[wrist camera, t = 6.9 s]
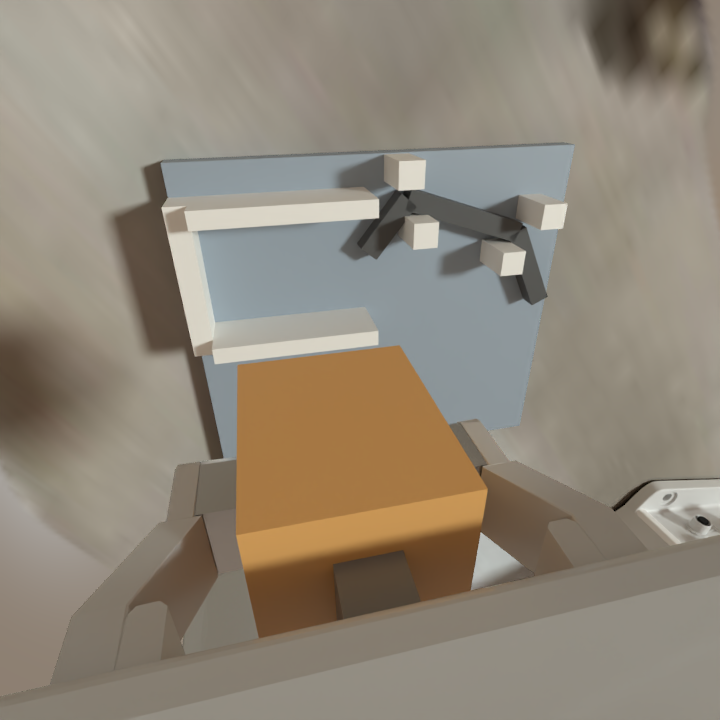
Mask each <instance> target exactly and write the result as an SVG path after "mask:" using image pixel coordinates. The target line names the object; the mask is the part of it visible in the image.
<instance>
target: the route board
mask: <svg viewBox="0 0 720 720" xmlns="http://www.w3.org/2000/svg"><path fill="white" fill-rule="evenodd" d="M574 147H575V145H574V144H568V143H544V144H521V145H498V146H475V147H452V148H429V149H406V150H383V151H360V152H337V153H314V154H291V155H268V156H245V157H222V158H199V159H176V160H163V161H162V162H161V163H160V164H161V168H162V173H163V177H164V182H165V187H166V191H167V196H168V198H167V200H166V201H165V203H164V204H163V206H162V207H161V208H162V212H163V217H164V221H165V226H166V230H167V235H168V239H169V244H170V248H171V253H172V257H173V262H174V266H175V271H176V275H177V279H178V284H179V288H180V293H181V297H182V302H183V306H184V311H185V315H186V320H187V324H188V329H189V333H190V338H191V342H192V347H193V351H194V355H195V357H196V356H202V359H203V364H204V368H205V373H206V378H207V382H208V387H209V392H210V396H211V401H212V406H213V410H214V415H215V420H216V424H217V429H218V434H219V438H220V443H221V448H222V452H223V457H224V458H230V457H237V365H240V364H249V363H257V362H265V361H273V360H282V359H290V358H298V357H306V356H315V355H323V354H331V353H340V352H348V351H356V350H364V349H373V348H381V347H389V346H397V345H400V347H401V348H402V350H403V351H404V353H405V355H406V356H407V358H408V360H409V361H410V363H411V364H412V366H413V368H414V369H415V371H416V373H417V374H418V376H419V378H420V379H421V381H422V382H423V384H424V386H425V387H426V389H427V391H428V392H429V394H430V395H431V397H432V399H433V400H434V402H435V404H436V405H437V407H438V408H439V410H440V412H441V413H442V415H443V417H444V418H445V420H446V421H447V423H448V424H450V423H457V422H460V421H465V420H471V419H478V420H480V421H481V423H482V424H483V425H484V427H485V428H486V429H487V431H488V430H494V429H500V428H507V427H513V426H519V425H520V420H521V415H522V410H523V405H524V400H525V395H526V390H527V384H528V379H529V374H530V369H531V364H532V359H533V354H534V349H535V344H536V339H537V334H538V329H539V324H540V319H541V314H542V309H543V303H544V298H546V297H548V296H547V293H546V288H547V283H548V278H549V273H550V268H551V263H552V258H553V253H554V248H555V243H556V238H557V233H558V229H563V225H564V220H565V215H566V210H567V205H568V203H565V202H564V197H565V192H566V187H567V182H568V177H569V172H570V167H571V162H572V157H573V152H574Z"/></svg>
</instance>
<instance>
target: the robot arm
mask: <svg viewBox="0 0 720 720" xmlns="http://www.w3.org/2000/svg"><path fill="white" fill-rule="evenodd" d="M448 425H449V426H450V428H451V430H452V431H453V433H454V434H455V436H456V438H457V439H458V441H459V443H460V444H461V446H462V448H463V449H464V451H465V452H466V454H467V456H468V457H469V459H470V461H471V462H472V464H473V465H474V467H475V469H476V470H477V472H478V474H479V475H480V477H481V478H482V480H483V482H484V483H485V485H486V487H487V488H488V492H487V497H486V503H485V509H484V515H483V521H482V526H481V532H482V533H483V534H484V535H485V536H487V537H488V538H489V539H491V540H492V541H493V542H494V543H496V544H497V545H498V546H500V547H501V548H502V549H503V550H505V551H506V552H507V553H509V554H510V555H511V556H512V557H514V558H515V559H516V560H517V561H519V562H520V563H521V564H523V565H524V566H525V567H526V568H528V569H529V570H530V571H532V572H533V573H534V576H533V577H529V578H525V579H520V580H516V581H511V582H507V583H502V584H498V585H493V586H489V587H484V588H480V589H476V590H471V591H467V592H462V593H458V594H453V595H449V596H444V597H440V598H436V599H431V600H427V601H422V602H418V603H413V604H409V605H404V606H400V607H396V608H391V609H387V610H382V611H378V612H373V613H369V614H364V615H360V616H356V617H351V618H347V619H342V620H338V621H333V622H329V623H324V624H320V625H316V626H311V627H307V628H302V629H298V630H293V631H289V632H284V633H280V634H275V635H271V636H266V637H262V638H257V639H253V640H249V641H244V642H240V643H235V644H231V645H226V646H222V647H217V648H213V649H208V650H204V651H199V652H195V653H191V654H185V652H184V649H183V646H182V644H181V639H182V637H183V636H184V634H185V632H186V631H187V629H188V627H189V626H190V624H191V622H192V620H193V619H194V617H195V615H196V614H197V612H198V610H199V609H200V607H201V605H202V604H203V602H204V600H205V598H206V597H207V595H208V593H209V592H210V590H211V588H212V587H213V585H214V583H215V582H216V580H217V578H218V574H222V573H227V572H231V571H236V570H240V569H243V565H242V560H241V556H240V551H239V547H238V542H237V538H236V475H237V457H230V458H222V459H215V460H207V461H202V462H195V463H188V464H180V465H178V466H177V468H176V469H175V473H174V479H173V485H172V491H171V497H170V502H169V508H168V514H167V520H166V522H161V523H158V525H157V526H156V527H155V528H154V529H153V530H152V531H151V532H150V533H149V534H148V535H147V536H146V537H145V538H144V540H143V541H142V542H141V543H140V544H139V545H138V546H137V547H136V548H135V549H134V550H133V551H132V552H131V554H130V555H129V556H128V557H127V558H126V559H125V560H124V561H123V562H122V563H121V564H120V565H119V566H118V567H117V569H116V570H115V571H114V572H113V573H112V574H111V575H110V576H109V577H108V578H107V579H106V580H105V581H104V583H103V584H102V585H101V586H100V587H99V588H98V589H97V590H96V591H95V592H94V593H93V594H92V596H90V598H89V599H88V600H87V601H86V602H85V603H84V604H83V605H82V606H81V607H80V608H79V610H77V612H76V613H75V614H74V615H73V616H72V617H71V620H70V623H69V626H68V630H67V633H66V636H65V639H64V642H63V645H62V649H61V651H60V654H59V657H58V661H57V664H56V667H55V670H54V673H53V676H52V679H51V682H50V685H48V686H44V687H40V688H35V689H31V690H26V691H22V692H18V693H13V694H8V695H4V696H0V720H720V479H710V480H674V481H654V482H651V483H649V484H647V485H646V486H644V487H643V488H642V489H641V490H640V491H638V492H637V493H636V494H635V495H634V496H633V497H632V498H631V499H630V500H629V501H628V502H627V503H626V504H625V505H624V506H623V507H621V508H620V509H618V510H617V511H615V512H614V510H613V509H612V508H610V507H608V506H606V505H604V504H602V503H600V502H598V501H596V500H594V499H592V498H590V497H588V496H586V495H584V494H582V493H580V492H578V491H576V490H574V489H572V488H570V487H568V486H566V485H564V484H562V483H560V482H558V481H556V480H554V479H552V478H550V477H548V476H546V475H544V474H542V473H540V472H538V471H536V470H534V469H532V468H530V467H528V466H526V465H524V464H522V463H520V462H518V461H516V460H515V461H509V459H508V458H507V457H506V455H505V454H504V453H503V451H502V450H501V449H500V447H499V446H498V444H497V443H496V442H495V440H494V439H493V438H492V436H491V435H490V434H489V432H488V431H487V429H486V428H485V427H484V425H483V424H482V423H481V421H480V420H478V419H471V420H465V421H460V422H457V423H450V424H448Z"/></svg>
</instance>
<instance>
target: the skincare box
mask: <svg viewBox="0 0 720 720" xmlns="http://www.w3.org/2000/svg"><path fill="white" fill-rule="evenodd" d="M257 638H259V637H258V632H257V628H256V623H255V619H254V614H253V610H252V605H251V601H250V596H249V592H248V587H247V583H246V578H245V574H244V569H240V570H236V571H231V572H227V573H222V574H218V578H217V580H216V582H215V583H214V585H213V587H212V588H211V590H210V592H209V593H208V595H207V597H206V598H205V600H204V602H203V604H202V605H201V607H200V609H199V610H198V612H197V614H196V615H195V617H194V619H193V620H192V622H191V624H190V626H189V627H188V629H187V631H186V632H185V634H184V636H183V649H184V652H185V654H191V653H195V652H199V651H204V650H208V649H213V648H217V647H222V646H226V645H231V644H235V643H240V642H244V641H249V640H253V639H257Z"/></svg>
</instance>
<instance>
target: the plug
mask: <svg viewBox="0 0 720 720" xmlns="http://www.w3.org/2000/svg"><path fill="white" fill-rule="evenodd" d="M487 492H488V488H487V487H486V485H485V483H484V482H483V480H482V478H481V477H480V475H479V474H478V472H477V470H476V469H475V467H474V465H473V464H472V462H471V461H470V459H469V457H468V456H467V454H466V452H465V451H464V449H463V448H462V446H461V444H460V443H459V441H458V439H457V438H456V436H455V434H454V433H453V431H452V430H451V428H450V426H449V425H448V423H447V421H446V420H445V418H444V417H443V415H442V413H441V412H440V410H439V408H438V407H437V405H436V404H435V402H434V400H433V399H432V397H431V395H430V394H429V392H428V391H427V389H426V387H425V386H424V384H423V382H422V381H421V379H420V378H419V376H418V374H417V373H416V371H415V369H414V368H413V366H412V364H411V363H410V361H409V360H408V358H407V356H406V355H405V353H404V351H403V350H402V348H401V347H400V345H397V346H389V347H381V348H373V349H364V350H356V351H348V352H340V353H331V354H323V355H315V356H306V357H298V358H290V359H282V360H273V361H265V362H257V363H249V364H240V365H237V475H236V538H237V542H238V547H239V551H240V556H241V560H242V565H243V569H244V574H245V578H246V583H247V587H248V592H249V596H250V601H251V605H252V610H253V614H254V619H255V623H256V628H257V632H258V637H259V638H262V637H266V636H271V635H275V634H280V633H284V632H289V631H293V630H298V629H302V628H307V627H311V626H316V625H320V624H324V623H329V622H333V621H338V620H342V619H347V618H351V617H356V616H360V615H364V614H369V613H373V612H378V611H382V610H387V609H391V608H396V607H400V606H404V605H409V604H413V603H418V602H422V601H427V600H431V599H436V598H440V597H444V596H449V595H453V594H458V593H462V592H467V591H470V590H471V585H472V579H473V573H474V567H475V561H476V556H477V550H478V544H479V538H480V532H481V526H482V521H483V515H484V509H485V503H486V497H487Z"/></svg>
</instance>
